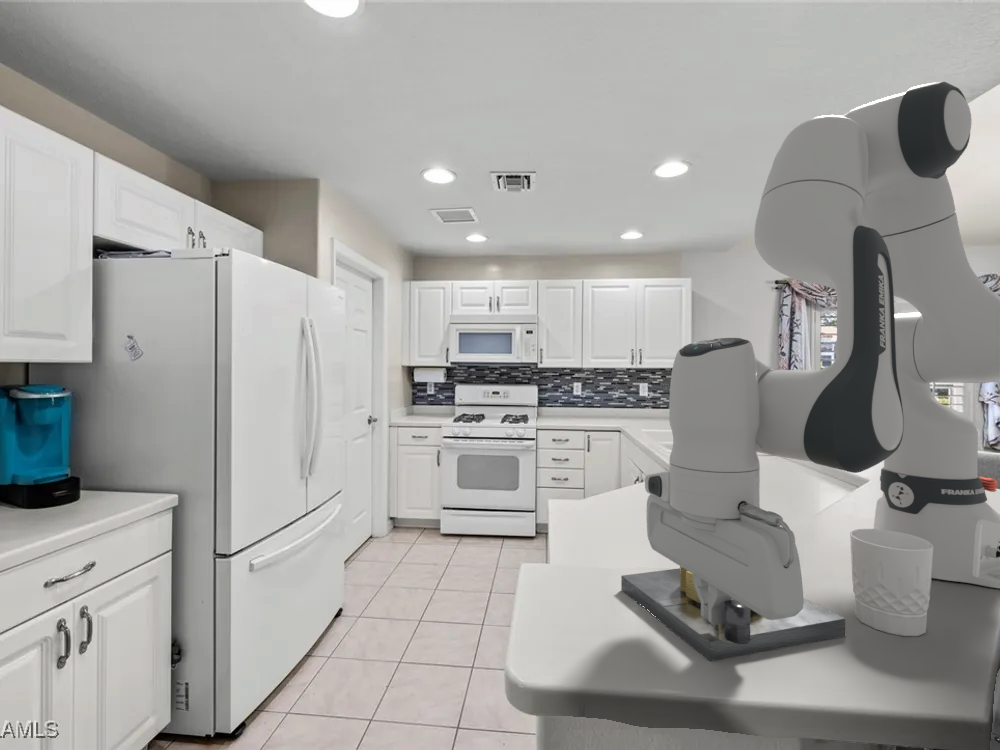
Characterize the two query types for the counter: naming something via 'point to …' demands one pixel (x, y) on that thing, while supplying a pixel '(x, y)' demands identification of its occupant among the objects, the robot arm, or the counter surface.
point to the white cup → (891, 580)
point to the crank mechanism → (708, 639)
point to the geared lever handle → (733, 612)
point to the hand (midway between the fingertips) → (713, 620)
